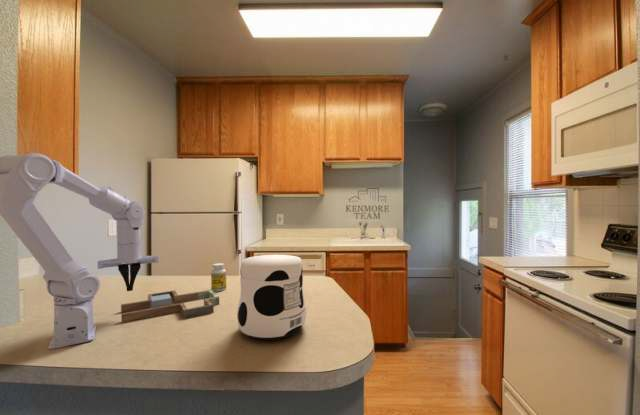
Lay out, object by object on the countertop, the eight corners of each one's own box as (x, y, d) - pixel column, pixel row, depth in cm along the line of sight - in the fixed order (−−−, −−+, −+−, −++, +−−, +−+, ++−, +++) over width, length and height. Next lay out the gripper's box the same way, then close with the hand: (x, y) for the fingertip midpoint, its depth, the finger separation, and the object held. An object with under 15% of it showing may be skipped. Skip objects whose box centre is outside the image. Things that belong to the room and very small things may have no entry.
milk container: (248, 316, 84) (247, 253, 83) (308, 317, 83) (308, 254, 83) (226, 346, 66) (226, 266, 66) (303, 347, 66) (303, 267, 66)
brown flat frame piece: (225, 310, 89) (225, 302, 89) (121, 331, 74) (121, 322, 74) (206, 291, 108) (206, 285, 108) (120, 305, 93) (120, 298, 93)
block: (171, 311, 88) (171, 297, 88) (152, 314, 86) (152, 301, 86) (169, 306, 93) (169, 293, 93) (150, 309, 90) (150, 296, 90)
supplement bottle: (227, 287, 113) (226, 262, 113) (225, 291, 108) (225, 265, 108) (212, 288, 112) (212, 263, 112) (210, 292, 107) (210, 265, 107)
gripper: (156, 239, 92) (156, 283, 92) (98, 243, 83) (98, 291, 84) (158, 242, 86) (159, 288, 86) (96, 246, 78) (97, 297, 78)
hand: (129, 290), depth 85 cm, fingers closed
